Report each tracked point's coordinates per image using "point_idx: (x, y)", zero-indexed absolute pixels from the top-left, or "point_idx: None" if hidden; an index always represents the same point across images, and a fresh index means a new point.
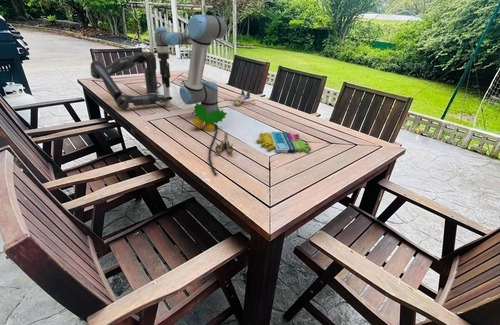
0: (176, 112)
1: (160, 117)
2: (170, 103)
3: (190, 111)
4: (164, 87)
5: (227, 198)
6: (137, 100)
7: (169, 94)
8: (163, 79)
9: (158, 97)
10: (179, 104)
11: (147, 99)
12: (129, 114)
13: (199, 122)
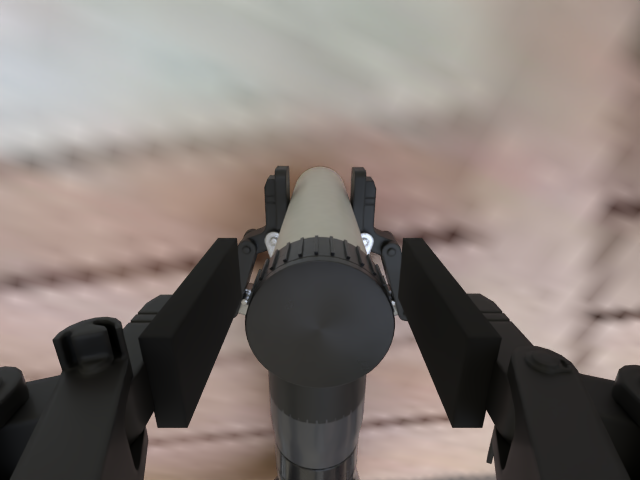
0: (533, 194)
1: (558, 332)
2: (335, 174)
3: (592, 59)
4: None
5: None
6: (354, 470)
7: (346, 200)
8: (209, 338)
9: None
10: (328, 69)
11: (362, 409)
12: (394, 455)
13: None
